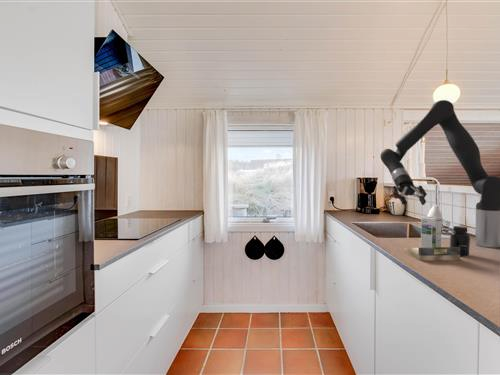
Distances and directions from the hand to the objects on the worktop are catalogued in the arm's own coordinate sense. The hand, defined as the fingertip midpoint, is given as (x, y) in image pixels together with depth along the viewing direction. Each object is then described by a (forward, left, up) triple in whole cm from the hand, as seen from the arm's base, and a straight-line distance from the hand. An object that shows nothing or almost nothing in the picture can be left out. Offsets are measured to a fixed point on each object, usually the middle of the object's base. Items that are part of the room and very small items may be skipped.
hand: (414, 204), depth 131 cm
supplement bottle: (-7, +16, -21) cm, 27 cm away
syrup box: (+6, +10, -19) cm, 22 cm away
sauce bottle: (-46, -15, -21) cm, 53 cm away
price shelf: (+6, +10, -21) cm, 24 cm away
